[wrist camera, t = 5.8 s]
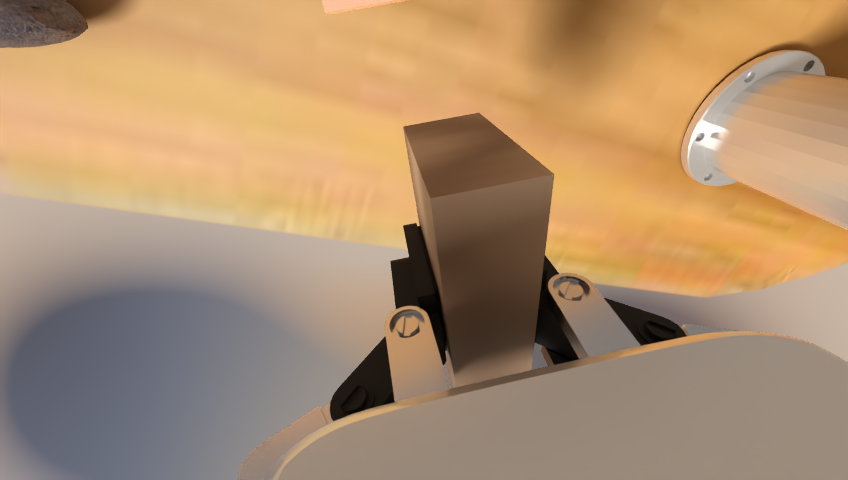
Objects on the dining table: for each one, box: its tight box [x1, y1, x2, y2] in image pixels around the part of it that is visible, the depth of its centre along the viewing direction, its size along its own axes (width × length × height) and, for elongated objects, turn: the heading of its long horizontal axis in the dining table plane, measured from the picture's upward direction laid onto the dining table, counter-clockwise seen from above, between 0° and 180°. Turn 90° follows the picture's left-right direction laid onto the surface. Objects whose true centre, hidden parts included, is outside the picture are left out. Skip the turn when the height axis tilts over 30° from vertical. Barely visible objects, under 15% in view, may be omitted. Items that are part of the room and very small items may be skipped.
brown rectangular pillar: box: [403, 113, 554, 388], centre depth 11 cm, size 2×10×5 cm, turn 8°
